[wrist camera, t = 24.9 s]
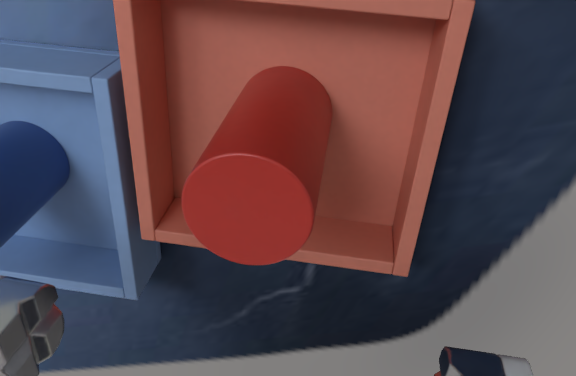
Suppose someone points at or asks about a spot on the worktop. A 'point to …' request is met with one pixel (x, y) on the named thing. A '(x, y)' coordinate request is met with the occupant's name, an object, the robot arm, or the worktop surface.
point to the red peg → (262, 170)
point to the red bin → (338, 84)
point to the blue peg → (27, 173)
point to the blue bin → (77, 172)
